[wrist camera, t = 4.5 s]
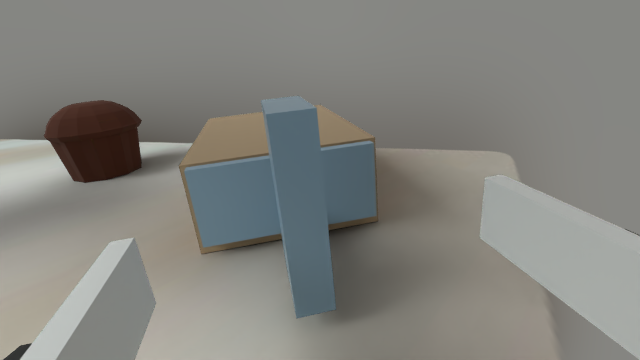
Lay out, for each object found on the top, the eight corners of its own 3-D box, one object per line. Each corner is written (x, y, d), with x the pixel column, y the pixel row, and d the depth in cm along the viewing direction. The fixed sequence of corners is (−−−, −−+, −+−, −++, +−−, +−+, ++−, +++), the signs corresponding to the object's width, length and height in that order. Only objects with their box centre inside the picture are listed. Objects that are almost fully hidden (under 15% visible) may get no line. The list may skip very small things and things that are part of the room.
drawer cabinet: (377, 220, 27) (374, 137, 25) (201, 254, 25) (178, 165, 23) (325, 156, 46) (320, 104, 43) (220, 172, 43) (209, 118, 41)
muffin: (53, 193, 42) (20, 113, 38) (69, 171, 51) (44, 105, 48) (155, 171, 47) (134, 99, 43) (153, 155, 56) (135, 94, 52)
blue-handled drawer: (437, 288, 18) (444, 91, 14) (180, 346, 15) (112, 133, 12) (322, 151, 44) (315, 71, 40) (222, 166, 42) (205, 83, 38)
